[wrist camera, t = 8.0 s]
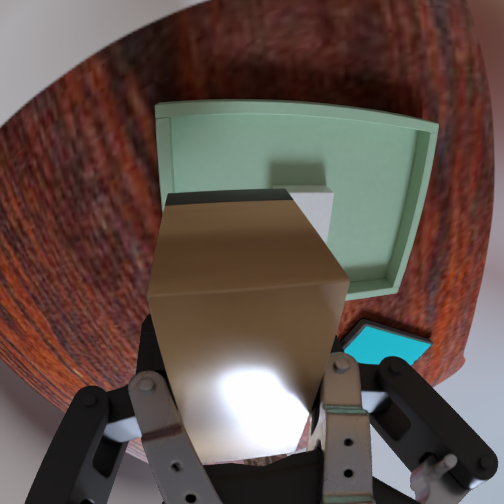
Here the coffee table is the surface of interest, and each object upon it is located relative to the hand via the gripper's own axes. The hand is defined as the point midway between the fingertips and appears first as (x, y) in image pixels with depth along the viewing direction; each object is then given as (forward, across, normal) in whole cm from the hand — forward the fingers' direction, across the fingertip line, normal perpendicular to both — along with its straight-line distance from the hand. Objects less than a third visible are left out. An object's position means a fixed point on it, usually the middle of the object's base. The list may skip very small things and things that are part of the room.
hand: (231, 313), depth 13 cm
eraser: (+1, 0, 0) cm, 1 cm away
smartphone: (+11, -19, +19) cm, 29 cm away
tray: (+11, -6, 0) cm, 12 cm away
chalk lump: (+10, -6, 0) cm, 11 cm away
